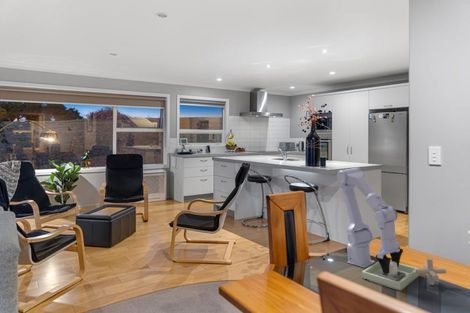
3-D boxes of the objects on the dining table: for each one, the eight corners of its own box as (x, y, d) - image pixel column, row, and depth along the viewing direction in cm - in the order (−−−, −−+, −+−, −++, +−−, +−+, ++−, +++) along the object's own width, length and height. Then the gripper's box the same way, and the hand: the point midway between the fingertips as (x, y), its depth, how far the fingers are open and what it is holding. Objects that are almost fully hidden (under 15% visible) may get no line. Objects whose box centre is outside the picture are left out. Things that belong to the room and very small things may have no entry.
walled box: (362, 278, 135) (361, 271, 135) (382, 265, 145) (381, 258, 144) (400, 291, 122) (399, 283, 122) (420, 275, 132) (419, 268, 131)
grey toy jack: (452, 290, 119) (450, 263, 118) (422, 290, 121) (420, 265, 120) (440, 277, 128) (438, 253, 127) (413, 278, 130) (411, 254, 130)
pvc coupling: (385, 277, 132) (384, 263, 132) (390, 274, 135) (389, 260, 134) (395, 280, 129) (393, 266, 128) (400, 277, 131) (398, 262, 131)
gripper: (388, 244, 123) (391, 279, 124) (406, 233, 132) (409, 265, 133) (371, 241, 129) (374, 273, 130) (389, 230, 137) (392, 261, 138)
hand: (391, 269), depth 132 cm, fingers open, 7 cm apart
